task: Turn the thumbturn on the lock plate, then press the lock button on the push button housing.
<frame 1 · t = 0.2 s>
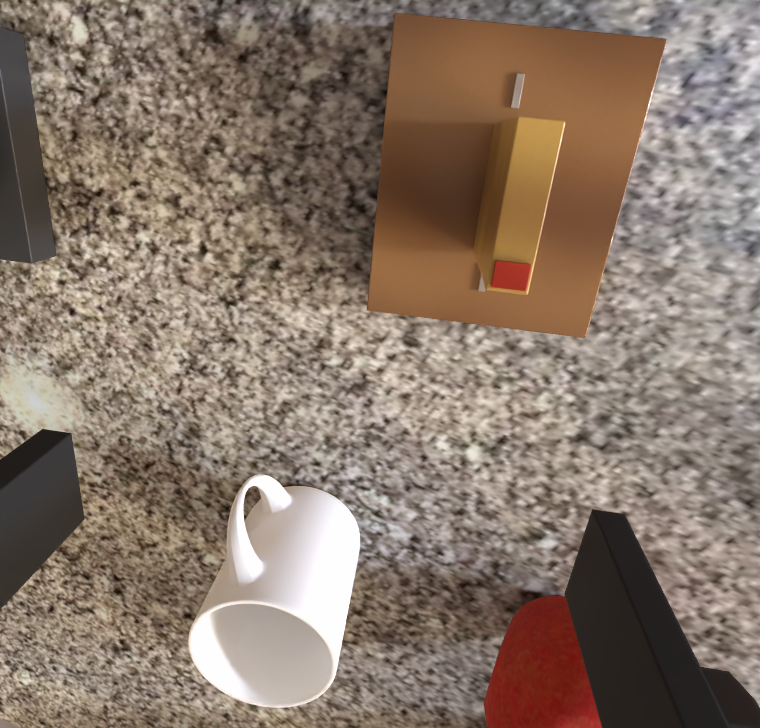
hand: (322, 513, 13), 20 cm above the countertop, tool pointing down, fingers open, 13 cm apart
lock plate: (493, 186, 29), on the countertop
apple: (551, 609, 40), on the countertop
thumbturn: (509, 199, 22), point 7 cm above the countertop, hinge at 0.0°
mug: (298, 509, 39), on the countertop
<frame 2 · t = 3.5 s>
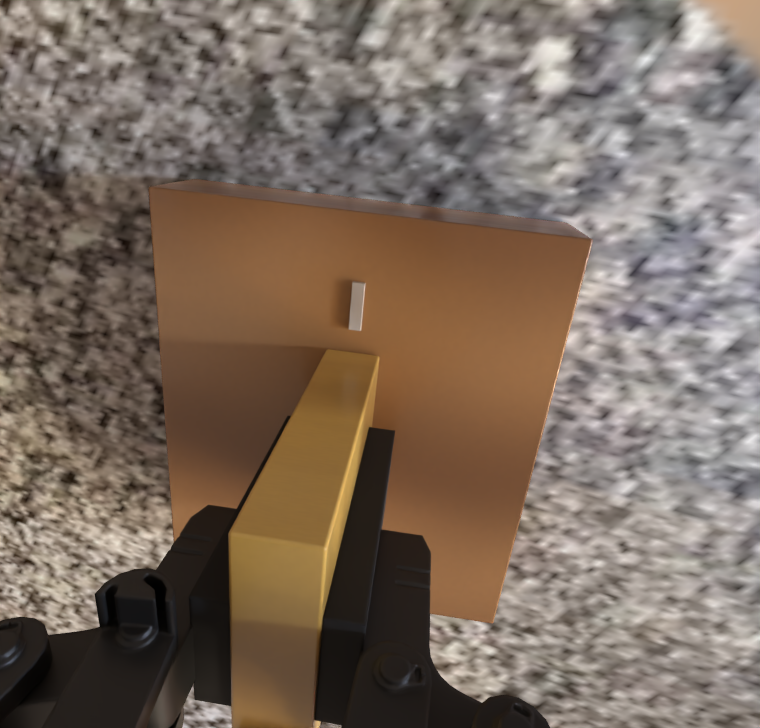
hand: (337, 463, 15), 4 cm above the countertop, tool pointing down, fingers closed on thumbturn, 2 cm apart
lock plate: (358, 395, 19), on the countertop
thumbturn: (318, 525, 13), point 7 cm above the countertop, hinge at 0.0°, touching gripper
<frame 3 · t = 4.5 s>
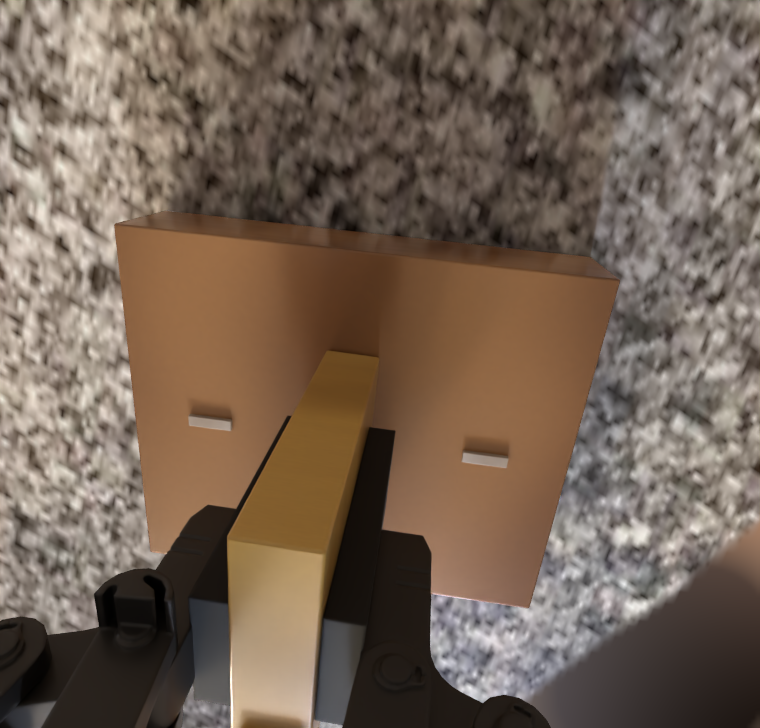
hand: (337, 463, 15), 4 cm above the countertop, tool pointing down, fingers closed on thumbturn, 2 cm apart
lock plate: (359, 396, 19), on the countertop
thumbturn: (318, 527, 13), point 7 cm above the countertop, hinge at 89.3°, touching gripper
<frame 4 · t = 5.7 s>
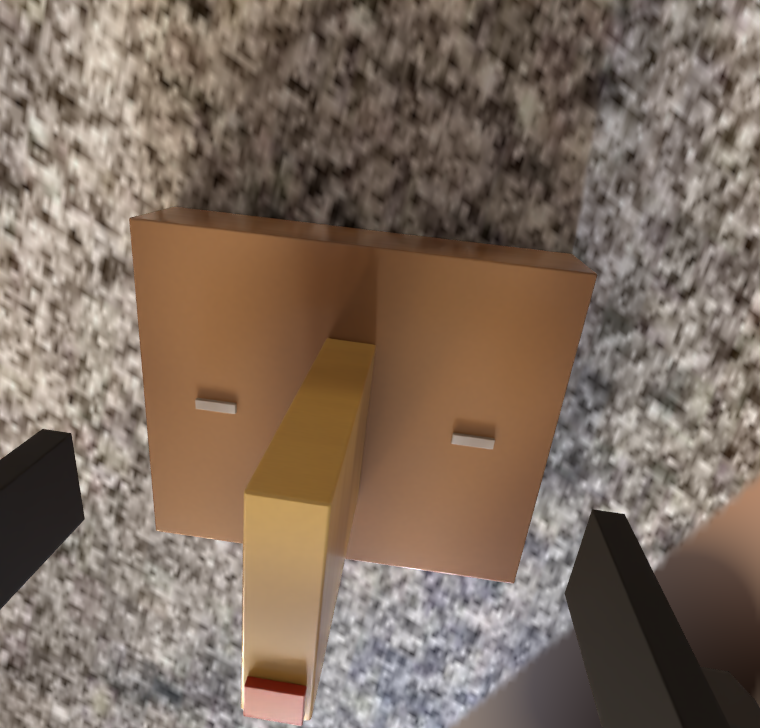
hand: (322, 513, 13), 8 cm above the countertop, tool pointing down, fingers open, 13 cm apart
lock plate: (355, 384, 21), on the countertop
thumbturn: (319, 498, 14), point 7 cm above the countertop, hinge at 89.3°
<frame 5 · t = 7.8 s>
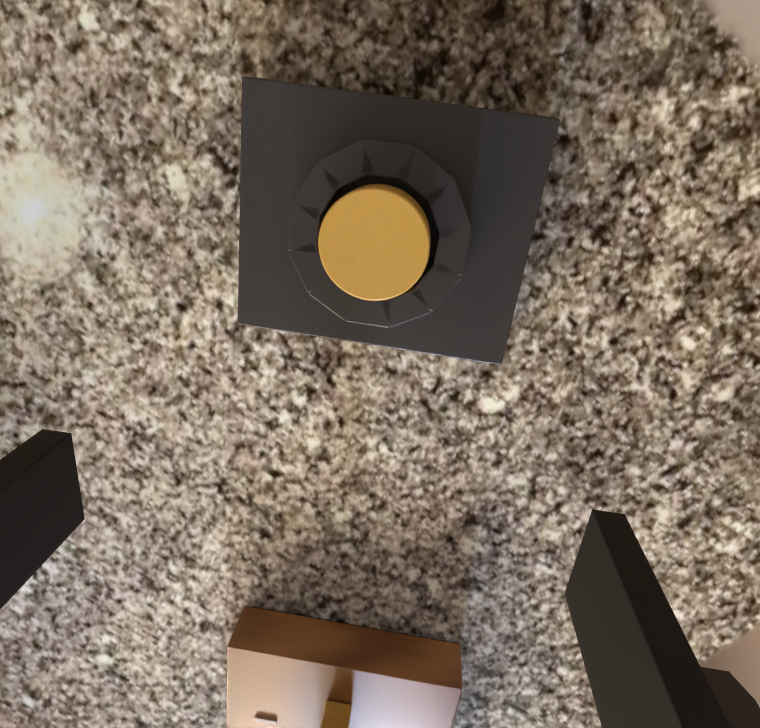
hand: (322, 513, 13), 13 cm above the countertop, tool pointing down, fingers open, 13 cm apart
lock plate: (342, 686, 36), on the countertop
push button housing: (386, 224, 24), on the countertop
lock button: (375, 242, 19), point 4 cm above the countertop, slide at 0.1 cm
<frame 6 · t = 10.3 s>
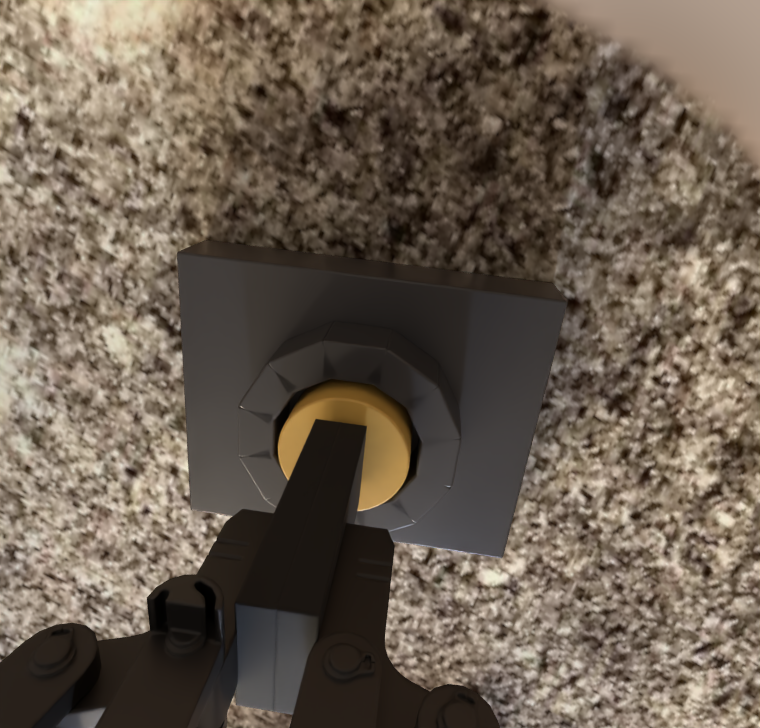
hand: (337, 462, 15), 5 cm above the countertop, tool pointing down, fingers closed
push button housing: (363, 391, 20), on the countertop
lock button: (347, 442, 16), point 4 cm above the countertop, slide at -0.7 cm, touching gripper
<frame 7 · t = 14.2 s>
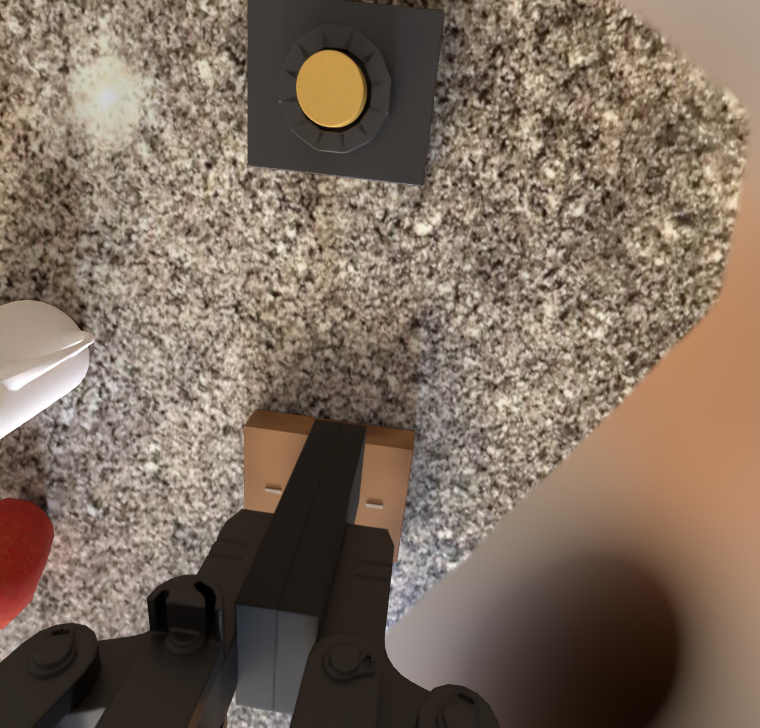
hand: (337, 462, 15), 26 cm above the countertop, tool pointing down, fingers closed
lock plate: (330, 477, 48), on the countertop
push button housing: (344, 96, 35), on the countertop
apple: (35, 514, 54), on the countertop
mug: (63, 339, 45), on the countertop
lock button: (332, 90, 31), point 4 cm above the countertop, slide at 0.1 cm
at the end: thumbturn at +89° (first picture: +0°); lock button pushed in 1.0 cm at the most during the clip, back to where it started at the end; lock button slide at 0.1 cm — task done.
